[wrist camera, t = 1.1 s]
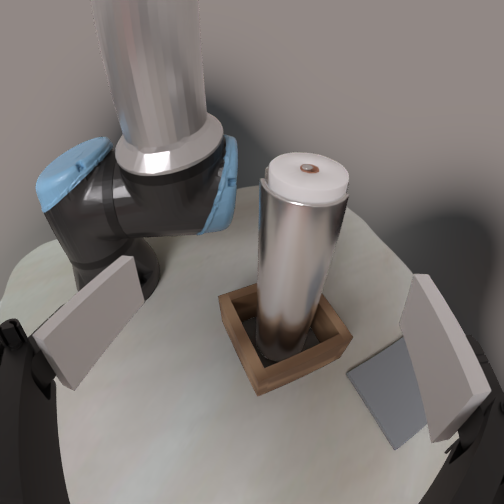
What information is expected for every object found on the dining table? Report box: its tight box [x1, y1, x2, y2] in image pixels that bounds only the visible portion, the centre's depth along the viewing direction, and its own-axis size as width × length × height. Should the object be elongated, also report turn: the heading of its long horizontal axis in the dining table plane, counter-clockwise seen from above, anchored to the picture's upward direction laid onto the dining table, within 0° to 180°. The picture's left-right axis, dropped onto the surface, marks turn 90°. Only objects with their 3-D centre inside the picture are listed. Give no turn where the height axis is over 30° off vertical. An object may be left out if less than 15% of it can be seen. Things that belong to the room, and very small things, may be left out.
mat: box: [346, 337, 427, 450], centre depth 29 cm, size 13×13×1 cm
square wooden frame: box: [218, 283, 353, 396], centre depth 33 cm, size 12×12×6 cm
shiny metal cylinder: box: [256, 152, 349, 362], centre depth 27 cm, size 6×6×25 cm
